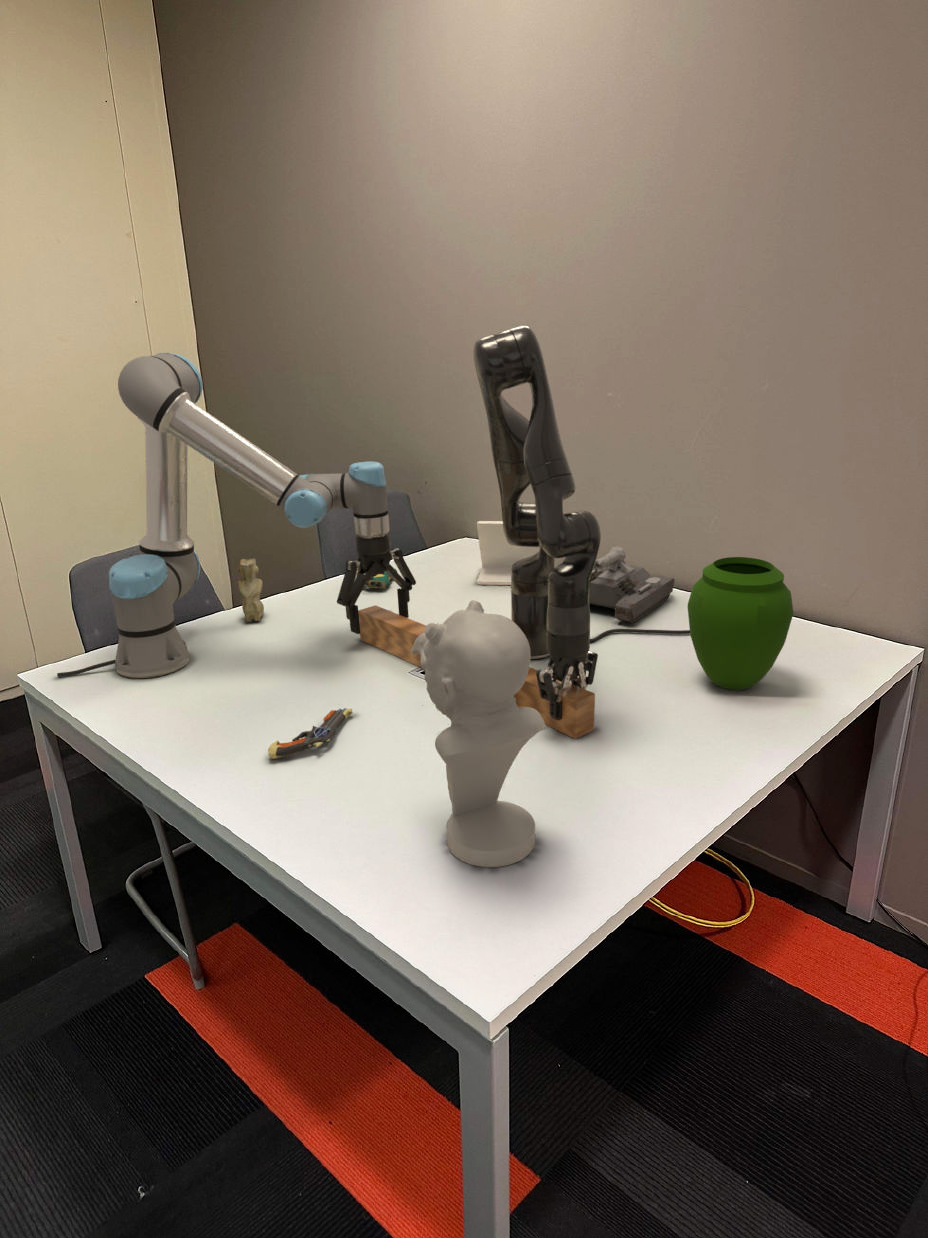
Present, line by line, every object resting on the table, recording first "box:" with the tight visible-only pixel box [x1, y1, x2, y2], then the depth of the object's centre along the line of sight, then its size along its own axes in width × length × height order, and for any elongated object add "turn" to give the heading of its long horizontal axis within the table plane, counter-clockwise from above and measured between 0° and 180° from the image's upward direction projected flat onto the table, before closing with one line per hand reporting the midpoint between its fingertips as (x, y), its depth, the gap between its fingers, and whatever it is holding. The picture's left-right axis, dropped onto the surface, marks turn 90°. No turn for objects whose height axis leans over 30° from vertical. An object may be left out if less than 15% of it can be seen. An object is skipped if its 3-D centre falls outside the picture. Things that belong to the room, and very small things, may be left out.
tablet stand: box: [476, 520, 565, 586], centre depth 236 cm, size 18×25×17 cm
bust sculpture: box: [411, 599, 547, 868], centre depth 121 cm, size 16×24×35 cm
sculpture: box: [237, 558, 265, 623], centre depth 209 cm, size 6×7×15 cm
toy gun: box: [267, 707, 354, 760], centre depth 153 cm, size 3×19×10 cm
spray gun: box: [355, 567, 398, 589], centre depth 236 cm, size 4×17×15 cm
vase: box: [687, 556, 794, 691], centre depth 166 cm, size 20×20×24 cm
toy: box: [589, 546, 676, 624], centre depth 212 cm, size 25×20×15 cm
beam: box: [358, 604, 596, 740], centre depth 174 cm, size 66×5×7 cm, turn 41°
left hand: (380, 624), depth 194 cm, fingers open, 13 cm apart
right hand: (566, 713), depth 154 cm, fingers closed on beam, 5 cm apart
